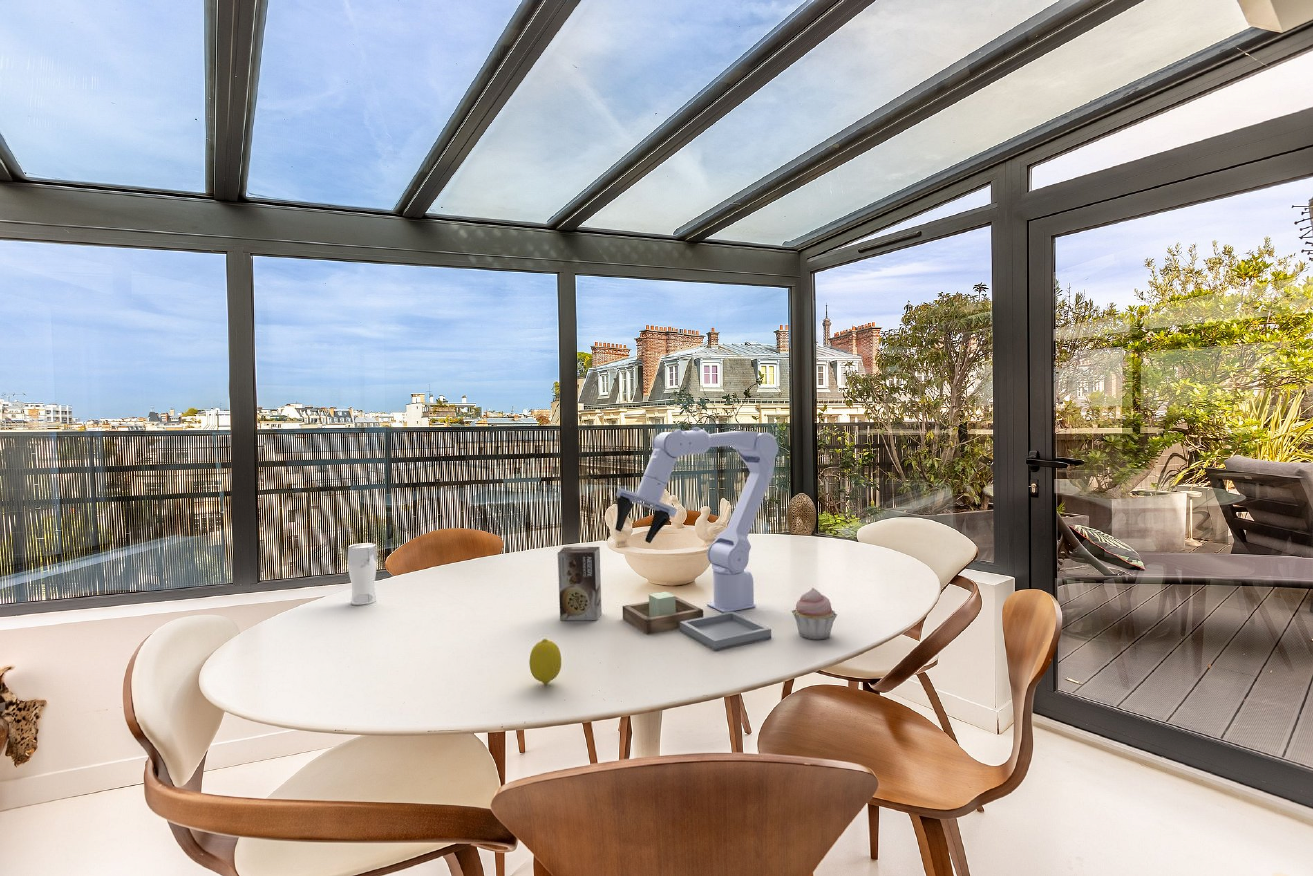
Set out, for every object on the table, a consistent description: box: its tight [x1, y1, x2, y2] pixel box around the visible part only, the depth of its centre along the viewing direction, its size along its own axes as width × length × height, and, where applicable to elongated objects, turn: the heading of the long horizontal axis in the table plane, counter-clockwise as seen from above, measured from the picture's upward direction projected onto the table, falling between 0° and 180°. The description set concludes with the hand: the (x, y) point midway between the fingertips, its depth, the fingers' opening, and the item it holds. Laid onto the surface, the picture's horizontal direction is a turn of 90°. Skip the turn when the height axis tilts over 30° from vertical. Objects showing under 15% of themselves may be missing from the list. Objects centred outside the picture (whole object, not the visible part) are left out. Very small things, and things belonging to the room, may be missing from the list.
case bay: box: [622, 596, 704, 635], centre depth 142 cm, size 14×12×3 cm
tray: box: [679, 611, 772, 652], centre depth 132 cm, size 14×14×2 cm
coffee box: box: [557, 546, 603, 621], centre depth 146 cm, size 9×6×16 cm
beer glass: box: [347, 542, 378, 606], centre depth 162 cm, size 7×7×15 cm
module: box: [648, 591, 677, 618], centre depth 142 cm, size 4×4×6 cm
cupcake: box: [791, 587, 838, 640], centre depth 130 cm, size 9×9×10 cm
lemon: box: [528, 638, 562, 685], centre depth 108 cm, size 6×6×8 cm
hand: (632, 536), depth 138 cm, fingers open, 7 cm apart
